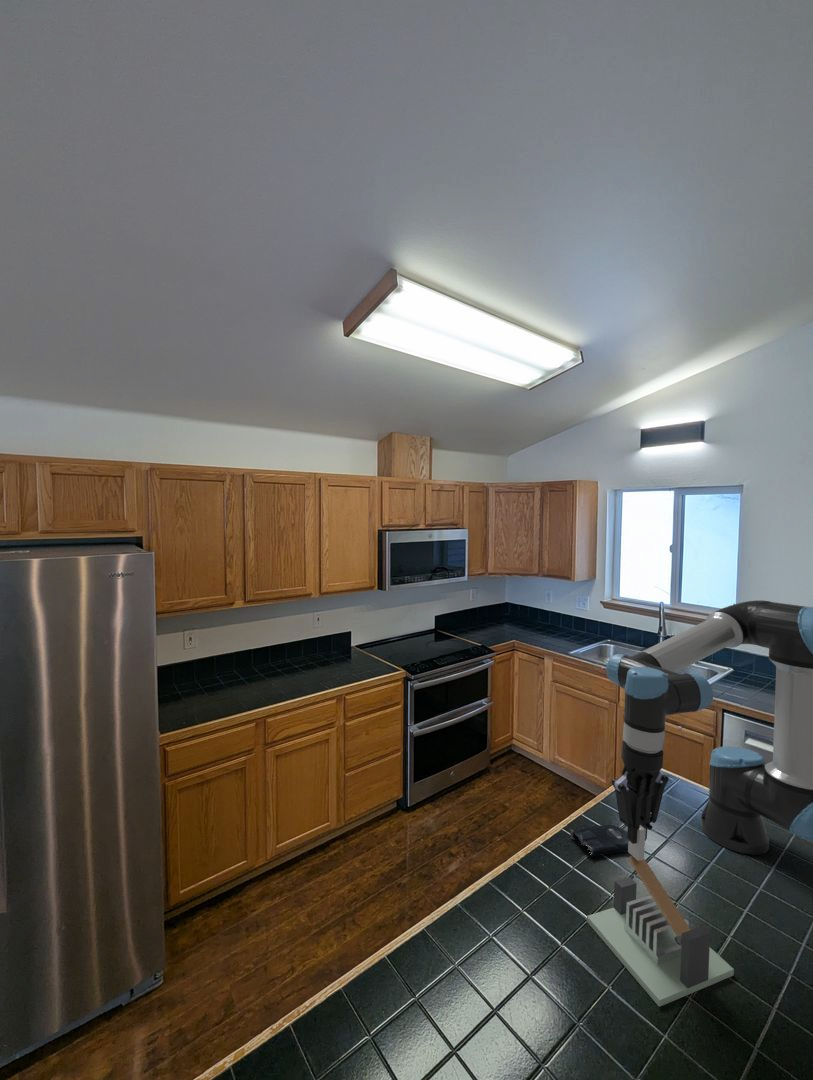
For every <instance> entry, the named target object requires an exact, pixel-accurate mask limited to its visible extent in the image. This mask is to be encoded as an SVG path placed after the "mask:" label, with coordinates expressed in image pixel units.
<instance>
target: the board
mask: <svg viewBox="0 0 813 1080" xmlns="http://www.w3.org/2000/svg"><path fill="white" fill-rule="evenodd" d="M637 884H638V883H637V882H636V881H635V880H634V879H633V878H632V877H631V876H626V877H622V878H619V879H616V880H614V887H613V888H614V889H613V907H611V908H608V909H604V910H602V911H599V912H596V913H593V914H589V915H587V916H586V923H587V924H588V925H589V926H590V927H591V929H593V930H594V932H595V933H596V934H597V935H598V936H599V938H600V939H601V940H602V941H603V942H604V943H605V945H606V946H607V947H608V948H609V949H610V950H611V952H612V953H613V954H614V955H615V957H616V958H617V959H618V961H620V963H621V964H622V965H623V966H624V967H625V969H627V971H628V972H629V973H630V975H632V977H633V978H634V979H635V980H636V982H637V983H638V984H639V985H640V986H641V987H642V989H643V990H644V991H645V993H647V995H649V997H650V998H651V999H652V1001H654V1002H655V1005H657V1006H658V1007H659V1008H660V1007H662V1006H665V1005H667V1004H670V1003H672V1002H675V1001H677V1000H679V999H682V998H683V997H686V996H688V995H690V994H693V993H696V992H697V991H700V990H702V989H705V988H707V987H710V986H712V985H715V984H717V983H719V982H721V981H724V980H725V979H729V978H731V977H733V976H734V973H735V970H734V968H733V967H732V966H731V965H730V964H729V963H728V962H727V961H726V960H725V959H723V958H722V956H720V955H719V954H718V953H717V952H716V951H714V949H712V948H711V947H710V946H711V945H710V944H711V932H710V931H709V930H708V929H706V927H705V926H703V925H701V926H698V927H695V928H692V929H691V930H690V931H687V932H684V933H682V944H681V956H680V957H678V958H675V959H673V960H670V961H667V962H665V963H662V964H660V965H657V964H656V963H655V962H654V961H653V960H652V959H651V958H650V957H649V956H648V955H647V954H646V952H645V951H644V950H643V949H642V948H641V947H640V946H639V945H638V944H637V943H636V942H635V941H634V939H633V938H632V937H631V936H630V935H629V934H628V933H627V932H626V931H625V930H624V923H625V922H626V906H627V902H630V901H633V900H636V899H637Z"/></svg>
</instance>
